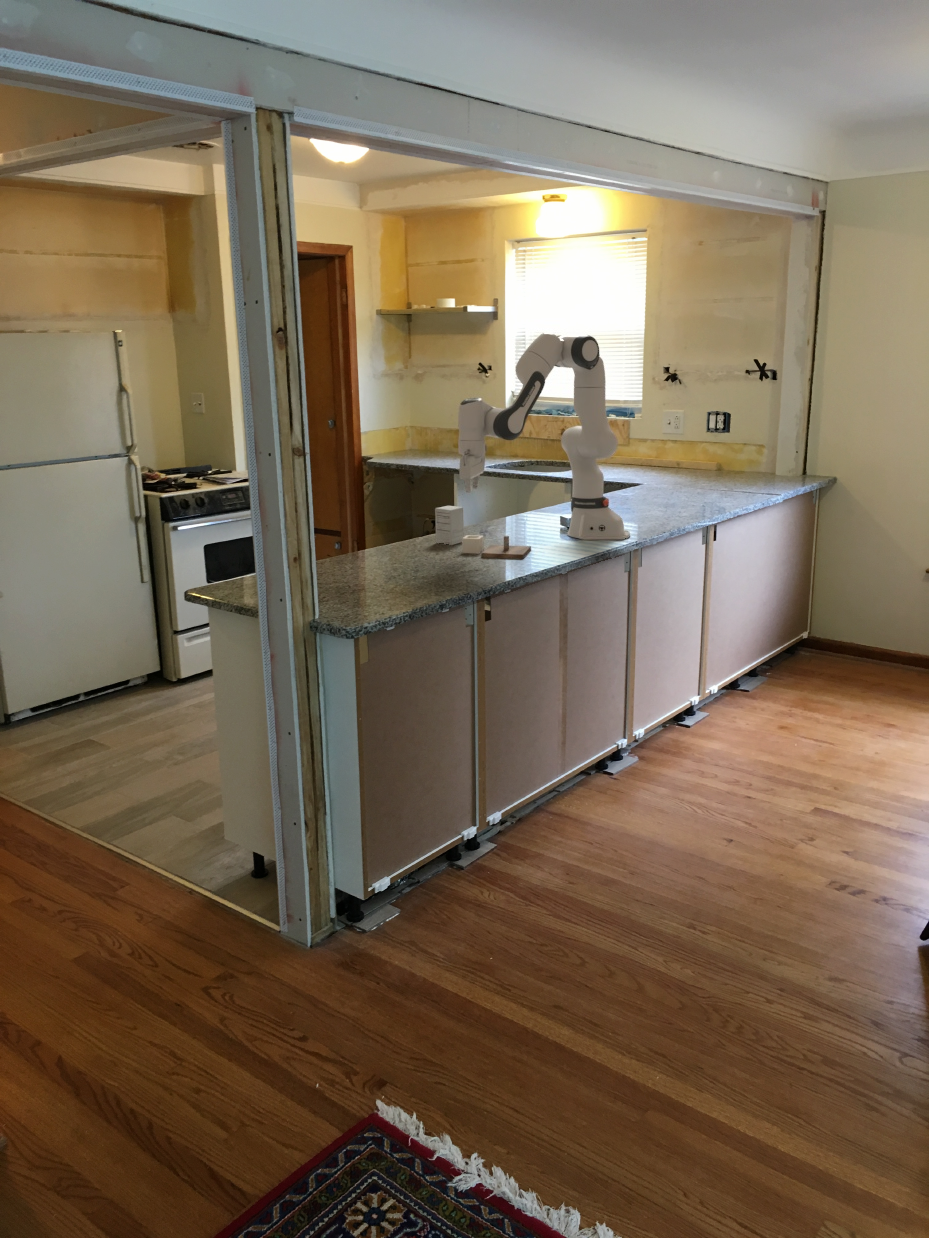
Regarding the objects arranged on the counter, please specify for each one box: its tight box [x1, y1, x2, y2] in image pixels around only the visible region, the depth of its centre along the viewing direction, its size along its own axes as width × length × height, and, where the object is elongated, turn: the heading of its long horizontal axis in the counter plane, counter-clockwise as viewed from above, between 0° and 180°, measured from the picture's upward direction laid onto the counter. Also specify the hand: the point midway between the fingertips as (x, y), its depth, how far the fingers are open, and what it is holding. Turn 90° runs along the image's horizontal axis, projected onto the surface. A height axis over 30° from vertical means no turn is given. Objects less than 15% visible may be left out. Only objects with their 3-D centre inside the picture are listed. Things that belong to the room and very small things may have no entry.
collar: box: [461, 534, 485, 555], centre depth 337 cm, size 6×6×5 cm
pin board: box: [480, 535, 532, 560], centre depth 332 cm, size 14×14×6 cm
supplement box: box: [434, 505, 465, 546], centre depth 352 cm, size 7×7×13 cm
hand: (472, 490), depth 332 cm, fingers open, 8 cm apart
